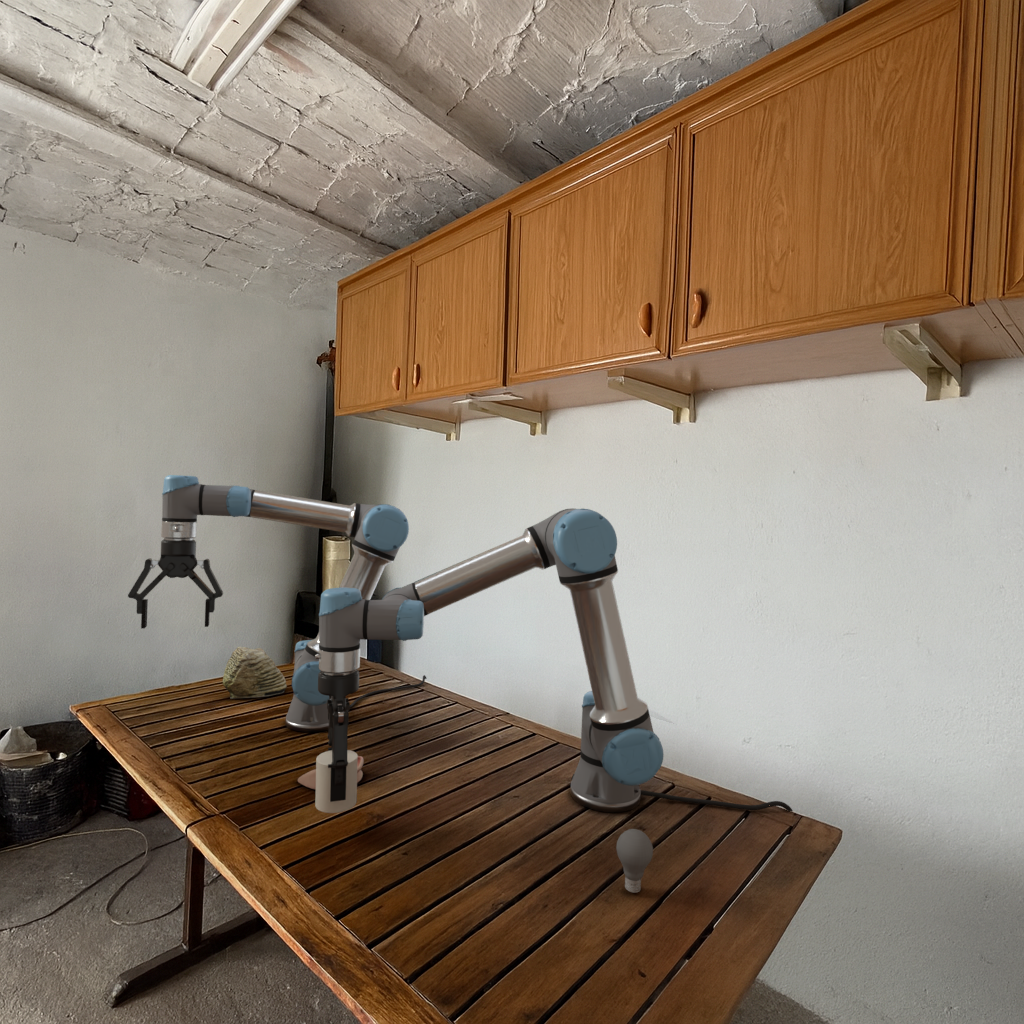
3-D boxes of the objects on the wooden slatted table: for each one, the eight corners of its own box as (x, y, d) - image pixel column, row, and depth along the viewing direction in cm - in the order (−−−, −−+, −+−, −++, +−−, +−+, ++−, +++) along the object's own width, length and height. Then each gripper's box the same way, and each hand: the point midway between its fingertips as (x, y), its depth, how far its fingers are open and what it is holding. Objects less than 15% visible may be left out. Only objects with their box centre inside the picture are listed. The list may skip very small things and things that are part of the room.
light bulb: (610, 879, 108) (613, 822, 108) (644, 879, 109) (647, 822, 109) (619, 902, 102) (622, 840, 102) (655, 901, 103) (658, 840, 103)
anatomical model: (290, 768, 137) (317, 748, 149) (290, 786, 138) (316, 764, 149) (347, 776, 135) (370, 755, 146) (346, 794, 135) (369, 772, 146)
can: (308, 811, 117) (309, 763, 117) (324, 792, 124) (325, 748, 124) (348, 814, 116) (349, 766, 116) (362, 795, 124) (363, 750, 124)
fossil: (218, 695, 195) (220, 647, 195) (278, 685, 208) (279, 640, 207) (228, 703, 189) (230, 653, 188) (289, 692, 201) (290, 645, 201)
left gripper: (115, 539, 145) (112, 631, 146) (234, 541, 154) (231, 628, 154) (123, 536, 152) (120, 624, 153) (236, 539, 161) (233, 622, 161)
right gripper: (316, 658, 128) (313, 770, 129) (320, 687, 109) (318, 818, 109) (354, 656, 131) (351, 765, 131) (365, 684, 111) (362, 812, 112)
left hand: (175, 626), depth 153 cm, fingers open, 13 cm apart
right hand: (336, 789), depth 120 cm, fingers closed on can, 8 cm apart
